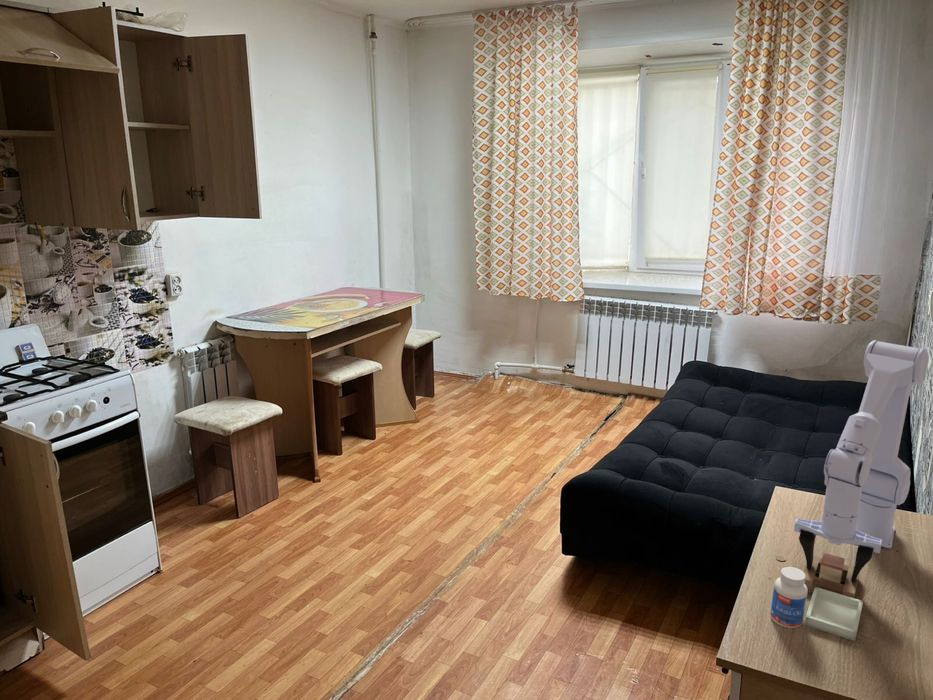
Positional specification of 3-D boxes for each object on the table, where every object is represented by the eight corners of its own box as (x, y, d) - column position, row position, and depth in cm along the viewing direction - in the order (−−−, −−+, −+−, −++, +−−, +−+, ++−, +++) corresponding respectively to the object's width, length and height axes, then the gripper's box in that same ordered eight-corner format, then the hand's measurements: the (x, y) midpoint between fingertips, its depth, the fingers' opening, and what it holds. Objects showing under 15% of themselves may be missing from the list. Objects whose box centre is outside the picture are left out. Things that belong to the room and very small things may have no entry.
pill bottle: (770, 625, 126) (776, 579, 123) (769, 606, 131) (775, 561, 128) (804, 632, 124) (811, 584, 121) (801, 612, 129) (808, 567, 126)
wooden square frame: (808, 565, 142) (809, 554, 142) (858, 579, 138) (860, 568, 137) (800, 588, 135) (801, 578, 135) (852, 604, 131) (854, 593, 130)
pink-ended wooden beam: (820, 576, 139) (823, 552, 137) (841, 582, 137) (845, 558, 135) (817, 586, 136) (820, 562, 134) (838, 593, 134) (842, 568, 132)
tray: (813, 594, 134) (815, 586, 133) (861, 609, 129) (863, 600, 129) (804, 624, 126) (805, 616, 125) (855, 641, 122) (856, 632, 121)
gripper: (794, 509, 132) (786, 571, 136) (883, 531, 125) (872, 596, 129) (801, 493, 138) (793, 553, 142) (886, 513, 130) (875, 576, 134)
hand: (831, 572), depth 136 cm, fingers open, 7 cm apart
